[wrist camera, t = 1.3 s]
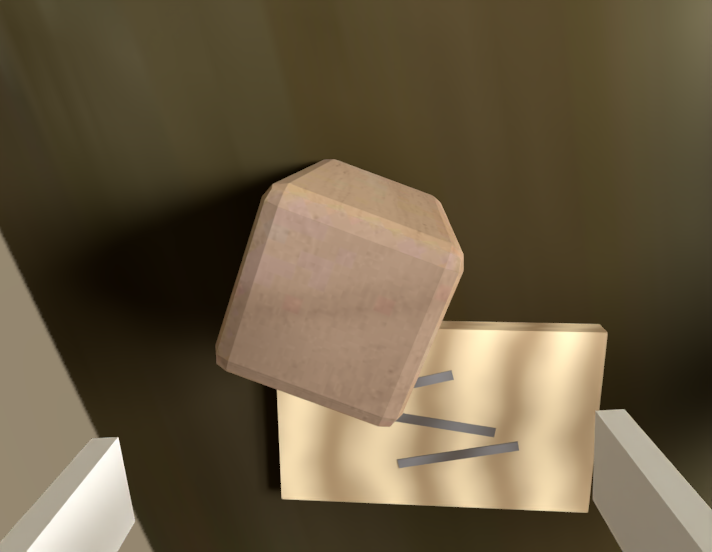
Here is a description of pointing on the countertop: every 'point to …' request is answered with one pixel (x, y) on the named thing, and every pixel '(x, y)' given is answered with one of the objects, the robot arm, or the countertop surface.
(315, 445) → the board
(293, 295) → the block
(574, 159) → the countertop surface
